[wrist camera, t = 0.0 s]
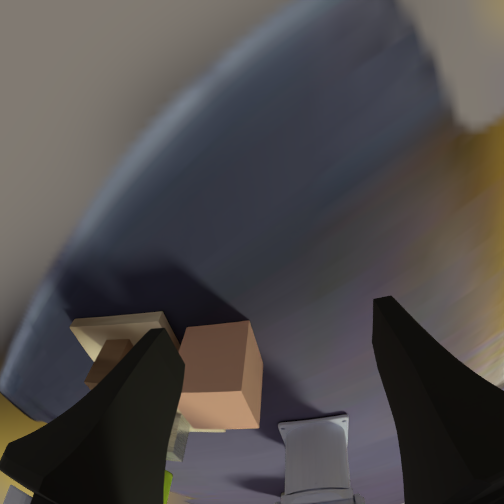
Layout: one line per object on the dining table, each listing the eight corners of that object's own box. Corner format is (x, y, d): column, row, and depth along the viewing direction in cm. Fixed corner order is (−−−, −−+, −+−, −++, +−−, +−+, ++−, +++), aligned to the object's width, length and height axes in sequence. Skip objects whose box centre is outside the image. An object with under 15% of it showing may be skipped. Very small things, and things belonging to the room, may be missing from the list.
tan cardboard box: (263, 363, 25) (259, 428, 20) (207, 367, 26) (193, 428, 21) (249, 320, 23) (241, 390, 17) (186, 327, 24) (165, 392, 18)
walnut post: (142, 359, 25) (124, 403, 21) (119, 359, 25) (100, 401, 21) (129, 338, 24) (107, 384, 19) (106, 339, 24) (84, 381, 20)
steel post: (190, 425, 30) (182, 461, 26) (170, 424, 31) (161, 459, 27) (181, 414, 29) (172, 452, 25) (161, 413, 30) (150, 450, 25)
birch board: (226, 423, 32) (225, 431, 31) (153, 421, 33) (150, 428, 32) (162, 311, 23) (158, 321, 22) (74, 318, 25) (69, 326, 24)
